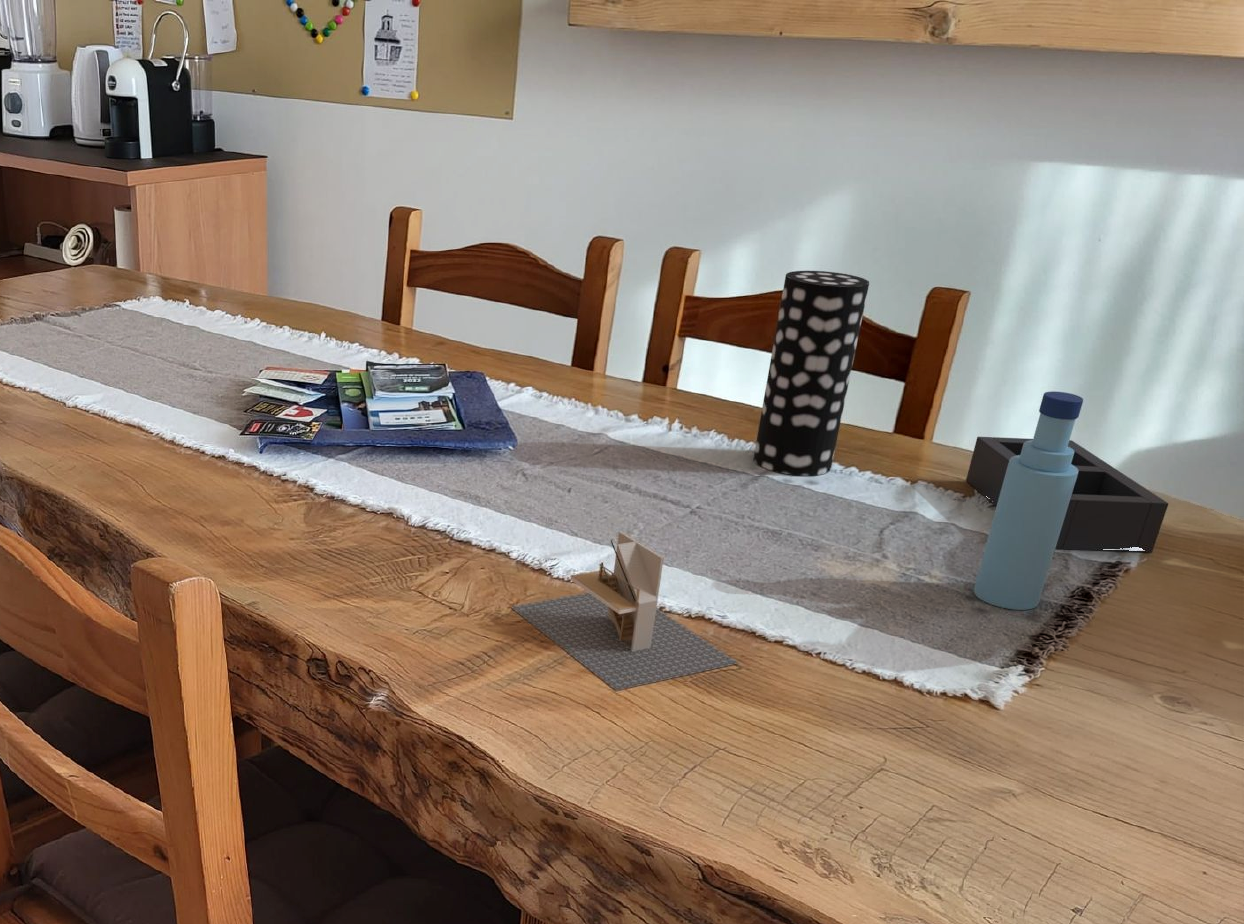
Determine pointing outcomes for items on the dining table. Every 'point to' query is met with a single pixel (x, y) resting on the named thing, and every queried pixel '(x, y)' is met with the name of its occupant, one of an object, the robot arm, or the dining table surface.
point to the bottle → (1031, 509)
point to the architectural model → (623, 623)
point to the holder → (1081, 498)
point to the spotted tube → (809, 371)
